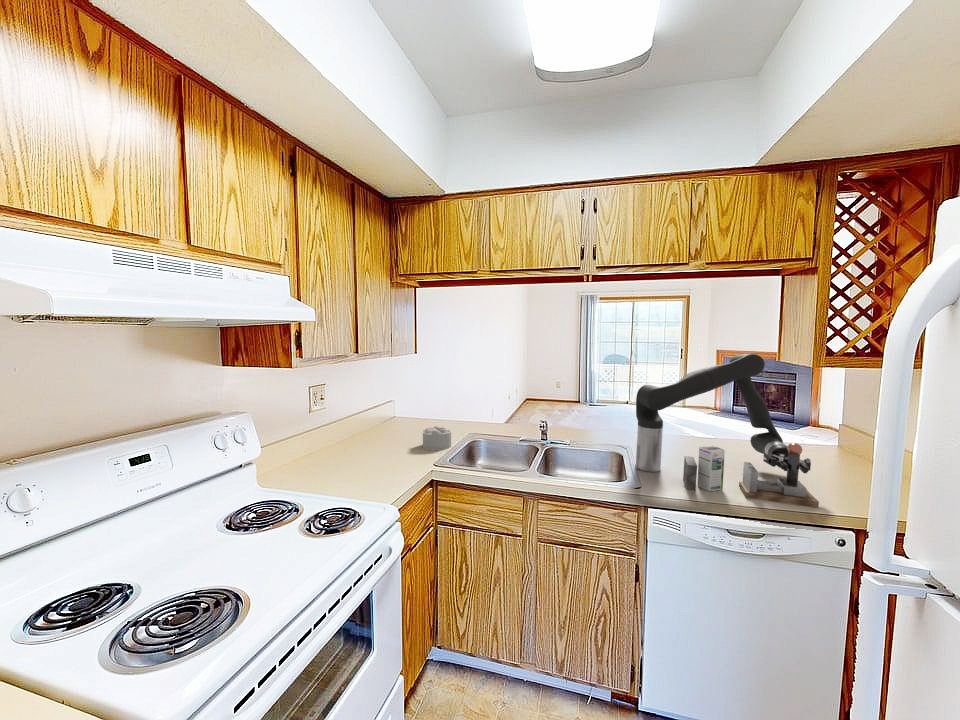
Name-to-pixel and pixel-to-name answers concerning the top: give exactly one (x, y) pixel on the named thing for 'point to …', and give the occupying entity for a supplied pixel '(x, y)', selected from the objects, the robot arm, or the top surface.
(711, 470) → the syrup box
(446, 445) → the lumpy-topped squat cylinder
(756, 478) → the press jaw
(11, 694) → the top surface
